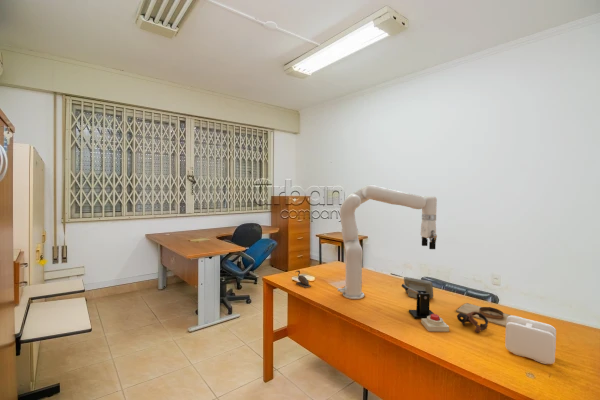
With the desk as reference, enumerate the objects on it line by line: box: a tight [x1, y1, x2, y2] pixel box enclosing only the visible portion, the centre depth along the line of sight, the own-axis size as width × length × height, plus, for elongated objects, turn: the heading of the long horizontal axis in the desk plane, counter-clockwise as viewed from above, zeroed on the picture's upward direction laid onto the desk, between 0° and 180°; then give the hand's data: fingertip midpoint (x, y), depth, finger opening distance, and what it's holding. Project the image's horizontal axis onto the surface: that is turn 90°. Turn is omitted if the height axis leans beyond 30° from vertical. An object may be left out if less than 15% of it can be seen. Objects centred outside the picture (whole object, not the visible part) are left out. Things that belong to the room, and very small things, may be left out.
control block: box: [420, 315, 450, 333], centre depth 128 cm, size 9×8×4 cm
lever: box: [401, 283, 423, 297], centre depth 139 cm, size 12×5×2 cm, turn 89°
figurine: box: [294, 270, 312, 289], centre depth 186 cm, size 14×4×9 cm, turn 38°
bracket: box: [408, 290, 435, 320], centre depth 140 cm, size 11×8×12 cm
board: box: [455, 302, 512, 328], centre depth 140 cm, size 25×15×3 cm, turn 41°
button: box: [431, 313, 440, 321], centre depth 128 cm, size 4×4×2 cm
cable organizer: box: [504, 314, 557, 365], centre depth 107 cm, size 15×11×12 cm
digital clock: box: [403, 276, 434, 299], centre depth 165 cm, size 16×9×11 cm, turn 39°
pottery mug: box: [456, 311, 489, 334], centre depth 127 cm, size 12×10×8 cm
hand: (428, 247), depth 161 cm, fingers open, 9 cm apart
